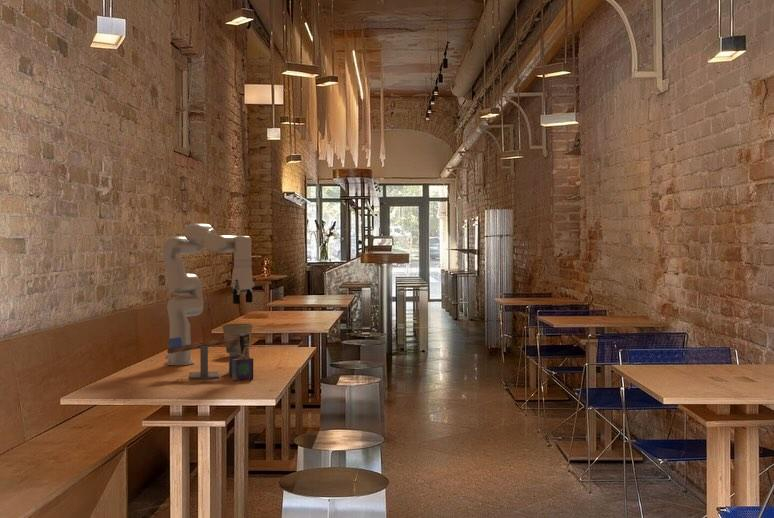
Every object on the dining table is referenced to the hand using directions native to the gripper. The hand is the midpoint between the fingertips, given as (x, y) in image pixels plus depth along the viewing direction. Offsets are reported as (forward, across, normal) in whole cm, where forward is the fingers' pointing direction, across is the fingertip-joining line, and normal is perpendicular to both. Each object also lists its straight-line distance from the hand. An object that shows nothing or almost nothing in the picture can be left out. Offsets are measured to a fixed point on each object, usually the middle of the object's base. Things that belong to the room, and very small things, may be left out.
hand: (242, 303), depth 369 cm
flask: (+31, +17, +11) cm, 37 cm away
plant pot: (+31, -44, -32) cm, 63 cm away
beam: (+22, +16, -8) cm, 28 cm away
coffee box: (+31, -4, -5) cm, 32 cm away
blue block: (+18, +23, -18) cm, 34 cm away
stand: (+31, +14, -6) cm, 34 cm away
